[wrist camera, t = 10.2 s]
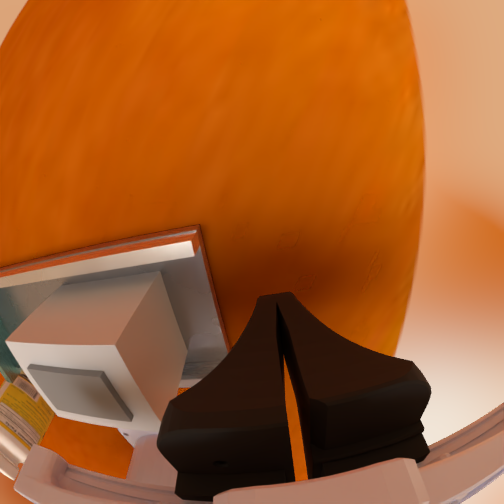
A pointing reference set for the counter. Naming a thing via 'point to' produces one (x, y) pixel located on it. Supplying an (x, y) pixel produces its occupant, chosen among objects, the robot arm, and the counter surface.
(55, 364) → the block
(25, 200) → the counter surface
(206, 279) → the rail plate
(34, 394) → the supplement bottle
